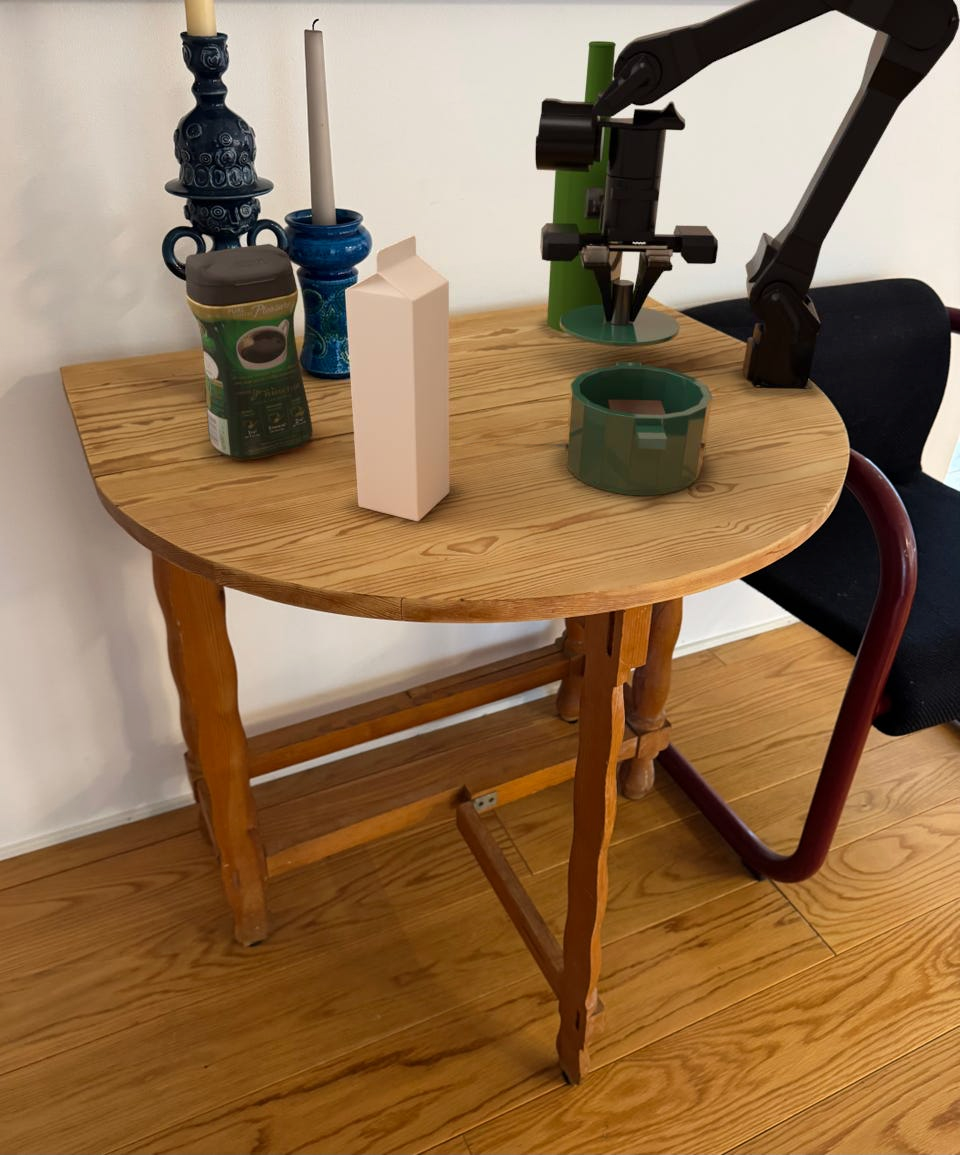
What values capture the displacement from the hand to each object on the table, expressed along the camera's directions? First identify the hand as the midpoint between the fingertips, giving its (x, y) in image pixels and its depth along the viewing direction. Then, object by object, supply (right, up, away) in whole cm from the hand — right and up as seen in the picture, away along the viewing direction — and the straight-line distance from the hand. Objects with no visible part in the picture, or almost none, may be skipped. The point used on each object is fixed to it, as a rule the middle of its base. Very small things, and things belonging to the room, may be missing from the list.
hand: (619, 321), depth 108 cm
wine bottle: (-3, +3, +16) cm, 16 cm away
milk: (-23, -23, -24) cm, 40 cm away
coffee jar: (-37, -16, -15) cm, 43 cm away
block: (-1, -18, -18) cm, 26 cm away
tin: (-1, -18, -18) cm, 26 cm away
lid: (0, -1, 0) cm, 1 cm away
